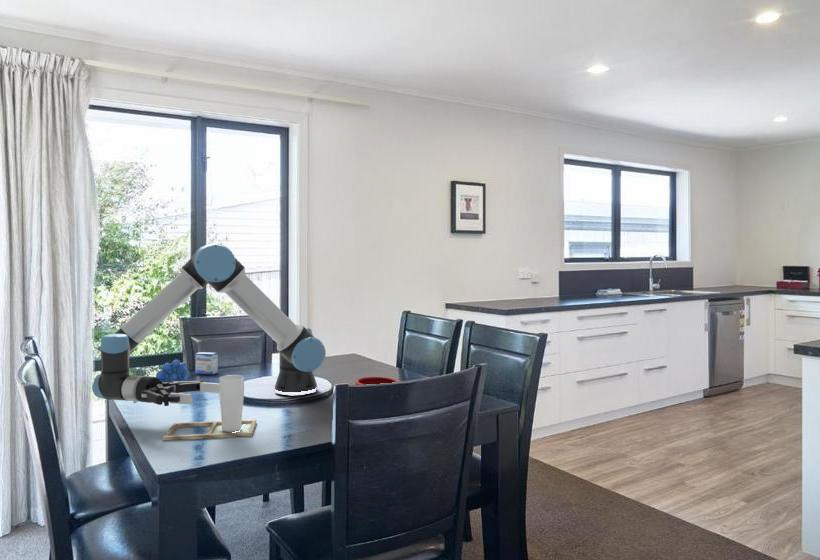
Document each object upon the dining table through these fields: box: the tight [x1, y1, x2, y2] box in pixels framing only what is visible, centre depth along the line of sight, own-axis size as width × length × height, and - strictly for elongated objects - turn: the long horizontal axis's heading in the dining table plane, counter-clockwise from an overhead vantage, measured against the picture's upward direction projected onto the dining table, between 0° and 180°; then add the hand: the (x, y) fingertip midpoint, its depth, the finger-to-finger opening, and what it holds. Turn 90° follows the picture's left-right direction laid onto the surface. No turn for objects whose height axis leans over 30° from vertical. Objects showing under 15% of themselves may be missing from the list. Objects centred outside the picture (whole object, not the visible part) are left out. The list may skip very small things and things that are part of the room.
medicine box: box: [195, 351, 219, 375], centre depth 240 cm, size 8×4×9 cm, turn 80°
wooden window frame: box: [162, 418, 258, 441], centre depth 160 cm, size 23×13×1 cm, turn 100°
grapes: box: [155, 359, 190, 392], centre depth 205 cm, size 12×7×12 cm, turn 126°
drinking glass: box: [218, 374, 245, 432], centre depth 160 cm, size 7×7×15 cm
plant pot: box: [354, 376, 399, 386], centre depth 172 cm, size 13×13×12 cm
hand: (206, 393), depth 163 cm, fingers open, 13 cm apart
